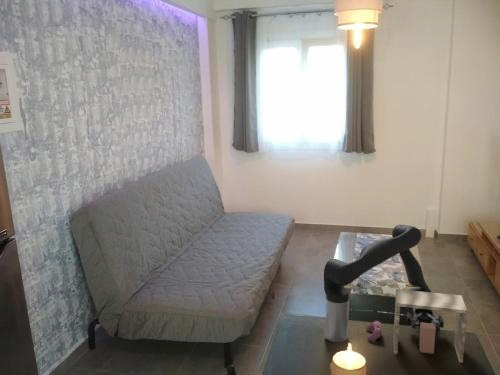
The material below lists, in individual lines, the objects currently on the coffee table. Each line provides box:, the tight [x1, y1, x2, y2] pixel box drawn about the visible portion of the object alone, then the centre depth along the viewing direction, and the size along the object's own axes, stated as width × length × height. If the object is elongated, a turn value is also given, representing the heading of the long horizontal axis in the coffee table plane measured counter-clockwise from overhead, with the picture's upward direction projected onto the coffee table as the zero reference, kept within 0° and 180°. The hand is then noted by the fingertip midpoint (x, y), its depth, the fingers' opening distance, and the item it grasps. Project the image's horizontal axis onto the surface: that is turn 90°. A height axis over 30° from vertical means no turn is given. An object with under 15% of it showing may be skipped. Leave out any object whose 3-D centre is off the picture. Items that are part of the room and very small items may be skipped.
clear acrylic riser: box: [393, 288, 468, 364], centre depth 176 cm, size 24×13×21 cm, turn 74°
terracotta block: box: [418, 322, 436, 354], centre depth 177 cm, size 5×5×10 cm
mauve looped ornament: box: [365, 320, 383, 342], centre depth 188 cm, size 10×5×7 cm, turn 169°
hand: (426, 328), depth 181 cm, fingers open, 8 cm apart
